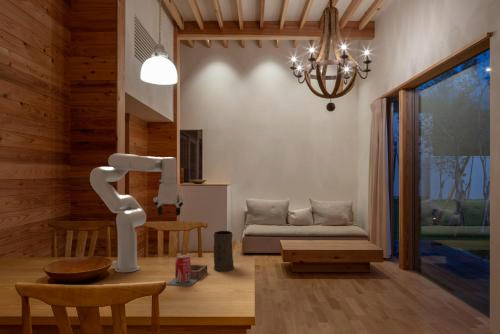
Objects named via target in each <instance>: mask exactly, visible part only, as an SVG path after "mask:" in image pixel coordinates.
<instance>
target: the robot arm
mask: <svg viewBox="0 0 500 334" xmlns="http://www.w3.org/2000/svg"><path fill="white" fill-rule="evenodd" d="M107 163H108V165H109V166H99V167H95V168H93V169H92V170H91V172H90V175H89V182H90V185H91V187H92V189H93V190H94V192H96V194H97V195H98V196H99V197H100V199H101V200H102V201H103V202H104V204H105V205H106V206H107V208H108V209H109V211H111V213H114V214H117V215H116V217H115V221H116V222H115V224H116V229H117V260H113V261H112V263H111V266H115V268H114V272H116V273H132V272H136V271H139V270H140V268H141V267H140V265H138V263H137V260H138V244H137V243H138V239H137V238H138V237H137V236H138V235H137V232H136V230H135V228H136V227H140V226H143V225H144V224H145V223H146V221H147V214H146V212H145V210H144V209H143V207H142V206H141V205H140V204H139V202H138V201H137V200H136V198H135V197H133V196H132V195H130V194H120V193H119V192H118V191H117V190H116V188H115V187H114V186H113V185H111V184H110V182H114V183H115V182H118V181H119V180H122V178H123V177H124V176H125V175H126V174H127V173H128V172H129V171H134V172H136V171H138V172H147V173H151V172H152V173H153V172H156V173H158V172H161V177H160V178H159V179H158V182H161V183H160V184H159V188H158V194H157V196H155V197H153V199H152V200H153V202H154V204H155V206H156V208H157V213H158V214H157V215H158V216H162V215H163V205H175V206H176V207H175V216H180V215H181V207H182V206H184V203H185V201H186V198H184V197H183V196H182V195H180V190H179V189H180V188H179V184H177V183H178V180H177V175H178V174H177V171H178V170H177V167H178V166H177V165H178V164H177V158H176V157H171V156H168V157H165V156H163V157H162V156H161V157H160V156H157V157H156V156H142V155H141V156H140V155H137V154H132V153H131V154H128V153H113V154H111V155H110V156H109V158H108V161H107ZM180 201H181V202H180Z"/></svg>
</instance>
